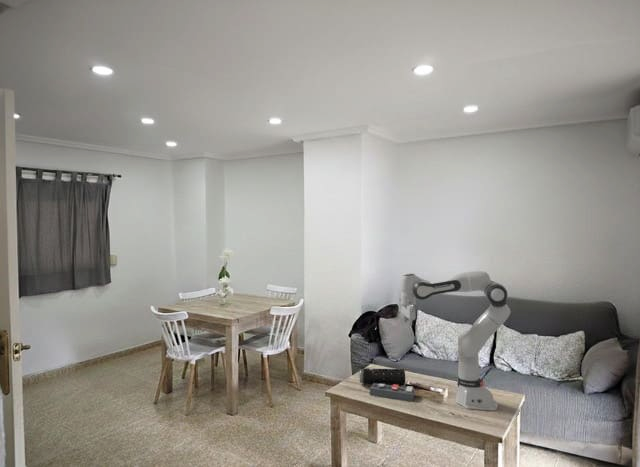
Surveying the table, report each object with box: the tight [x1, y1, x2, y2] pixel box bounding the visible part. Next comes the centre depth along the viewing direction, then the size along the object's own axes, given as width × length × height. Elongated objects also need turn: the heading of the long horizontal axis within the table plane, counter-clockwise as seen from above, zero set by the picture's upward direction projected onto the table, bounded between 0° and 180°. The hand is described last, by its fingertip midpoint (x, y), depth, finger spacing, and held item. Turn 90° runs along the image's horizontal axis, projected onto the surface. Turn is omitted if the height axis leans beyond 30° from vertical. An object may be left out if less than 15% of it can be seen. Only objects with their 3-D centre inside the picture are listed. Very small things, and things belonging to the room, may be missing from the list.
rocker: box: [406, 385, 414, 392], centre depth 242 cm, size 3×5×1 cm, turn 158°
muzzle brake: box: [358, 367, 406, 386], centre depth 262 cm, size 10×28×10 cm, turn 89°
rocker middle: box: [391, 384, 400, 390], centre depth 245 cm, size 3×5×1 cm, turn 158°
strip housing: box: [369, 383, 416, 402], centre depth 245 cm, size 25×9×4 cm, turn 68°
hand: (407, 324), depth 247 cm, fingers open, 8 cm apart
